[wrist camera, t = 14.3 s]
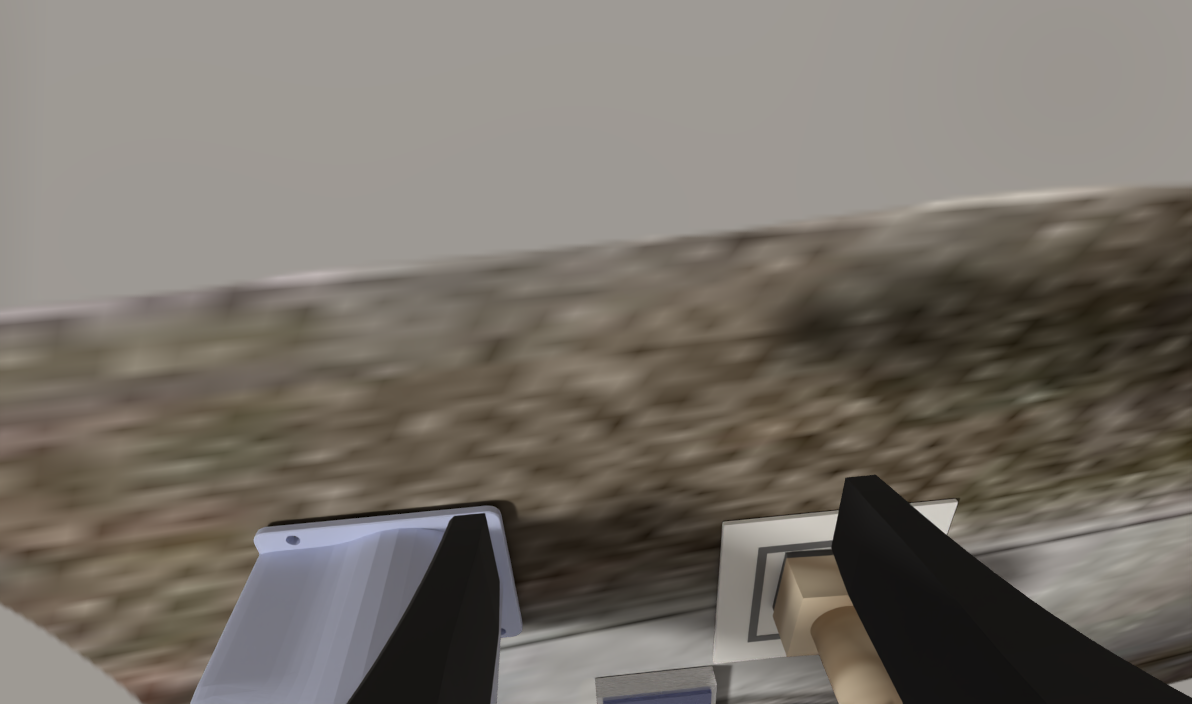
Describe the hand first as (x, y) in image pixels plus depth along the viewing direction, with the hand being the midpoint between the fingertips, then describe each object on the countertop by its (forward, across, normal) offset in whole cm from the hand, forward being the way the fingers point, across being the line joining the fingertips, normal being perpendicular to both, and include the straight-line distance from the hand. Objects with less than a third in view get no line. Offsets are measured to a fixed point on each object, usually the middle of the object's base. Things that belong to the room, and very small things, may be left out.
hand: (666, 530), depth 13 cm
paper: (+9, -9, +16) cm, 20 cm away
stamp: (+9, -9, +15) cm, 19 cm away
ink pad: (+9, -1, +24) cm, 26 cm away
